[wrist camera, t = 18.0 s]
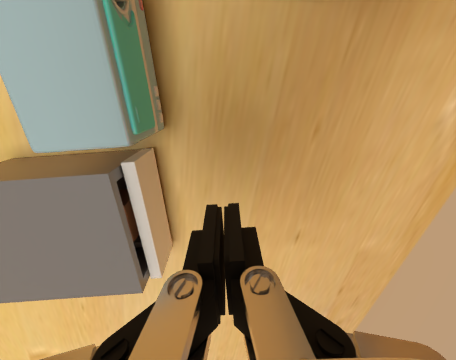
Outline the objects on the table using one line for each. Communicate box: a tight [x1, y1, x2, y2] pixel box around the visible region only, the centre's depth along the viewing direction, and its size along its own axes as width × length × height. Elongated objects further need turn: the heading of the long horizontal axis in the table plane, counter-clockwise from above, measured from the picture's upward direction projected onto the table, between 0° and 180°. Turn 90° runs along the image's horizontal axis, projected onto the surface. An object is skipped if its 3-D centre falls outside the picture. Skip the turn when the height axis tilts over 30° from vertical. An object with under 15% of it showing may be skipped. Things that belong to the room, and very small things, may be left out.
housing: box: [0, 149, 150, 303], centre depth 27 cm, size 18×15×10 cm
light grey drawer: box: [116, 148, 173, 278], centre depth 27 cm, size 17×16×6 cm
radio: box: [0, 0, 164, 153], centre depth 16 cm, size 16×9×20 cm, turn 4°
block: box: [119, 189, 139, 242], centre depth 27 cm, size 5×5×5 cm
